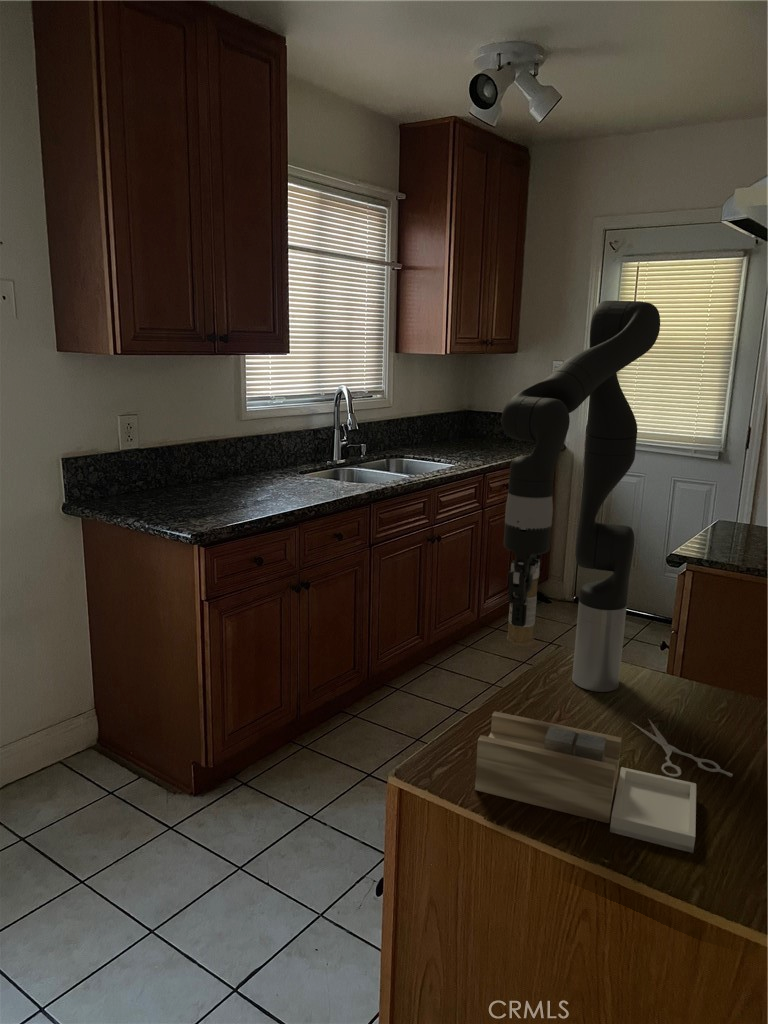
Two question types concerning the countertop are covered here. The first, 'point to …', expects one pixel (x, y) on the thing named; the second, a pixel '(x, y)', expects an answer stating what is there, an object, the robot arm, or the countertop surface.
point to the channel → (545, 769)
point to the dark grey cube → (590, 747)
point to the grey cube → (560, 740)
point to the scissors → (670, 749)
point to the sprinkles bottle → (525, 633)
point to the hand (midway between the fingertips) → (521, 619)
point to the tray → (655, 809)
